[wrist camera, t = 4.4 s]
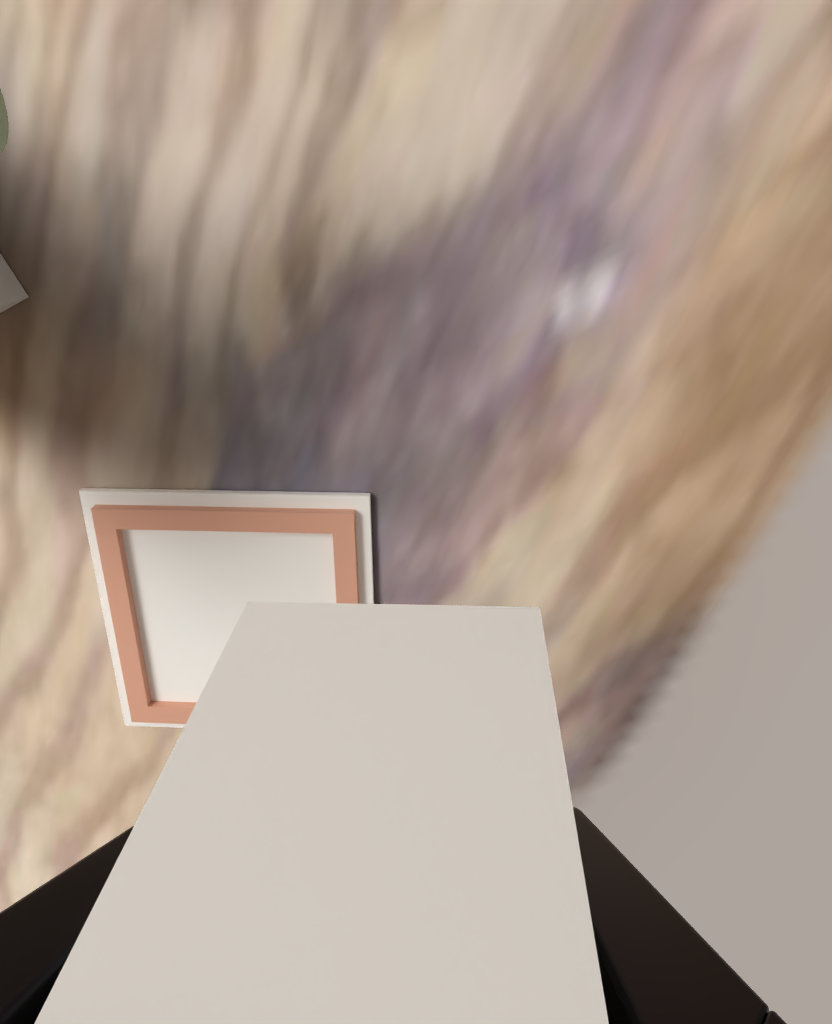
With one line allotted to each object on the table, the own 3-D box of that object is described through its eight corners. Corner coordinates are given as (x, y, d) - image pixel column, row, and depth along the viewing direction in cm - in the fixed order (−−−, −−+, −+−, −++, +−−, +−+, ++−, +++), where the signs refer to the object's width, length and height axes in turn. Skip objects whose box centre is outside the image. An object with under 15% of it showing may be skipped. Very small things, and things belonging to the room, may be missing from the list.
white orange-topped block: (539, 606, 11) (701, 1576, 3) (526, 830, 12) (616, 1816, 5) (247, 601, 11) (-202, 1493, 4) (271, 822, 12) (-3, 1749, 5)
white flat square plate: (370, 492, 21) (368, 500, 21) (378, 730, 25) (376, 741, 24) (82, 487, 22) (73, 494, 21) (127, 721, 25) (121, 731, 25)
